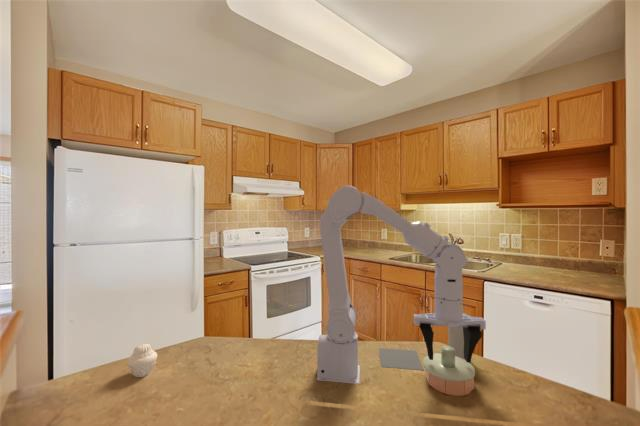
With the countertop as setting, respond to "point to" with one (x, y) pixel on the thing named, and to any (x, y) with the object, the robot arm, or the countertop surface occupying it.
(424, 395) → the countertop surface
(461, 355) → the beverage can
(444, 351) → the lid
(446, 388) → the bowl
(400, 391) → the countertop surface
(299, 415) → the countertop surface
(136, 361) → the muffin
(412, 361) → the mat
